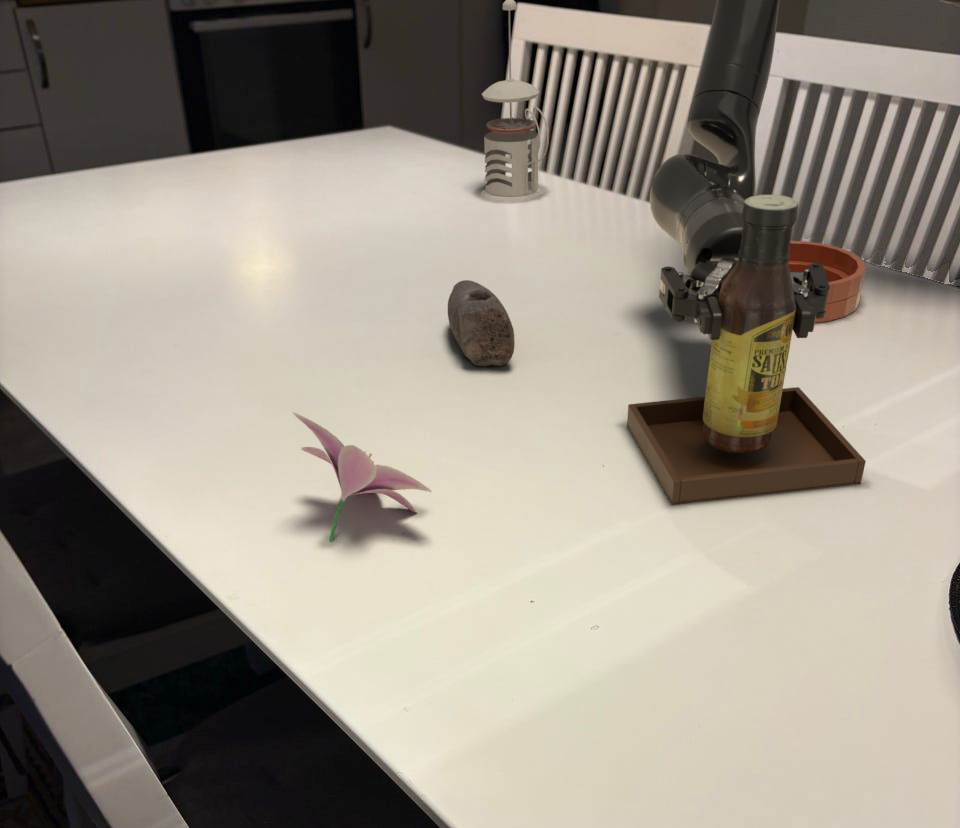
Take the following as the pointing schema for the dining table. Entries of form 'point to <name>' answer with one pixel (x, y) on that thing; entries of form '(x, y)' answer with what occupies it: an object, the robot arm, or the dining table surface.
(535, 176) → the french press
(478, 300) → the perforated stone tool
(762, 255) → the sauce bottle
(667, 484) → the tray
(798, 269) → the bowl
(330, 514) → the dining table surface
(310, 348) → the dining table surface
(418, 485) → the lily
